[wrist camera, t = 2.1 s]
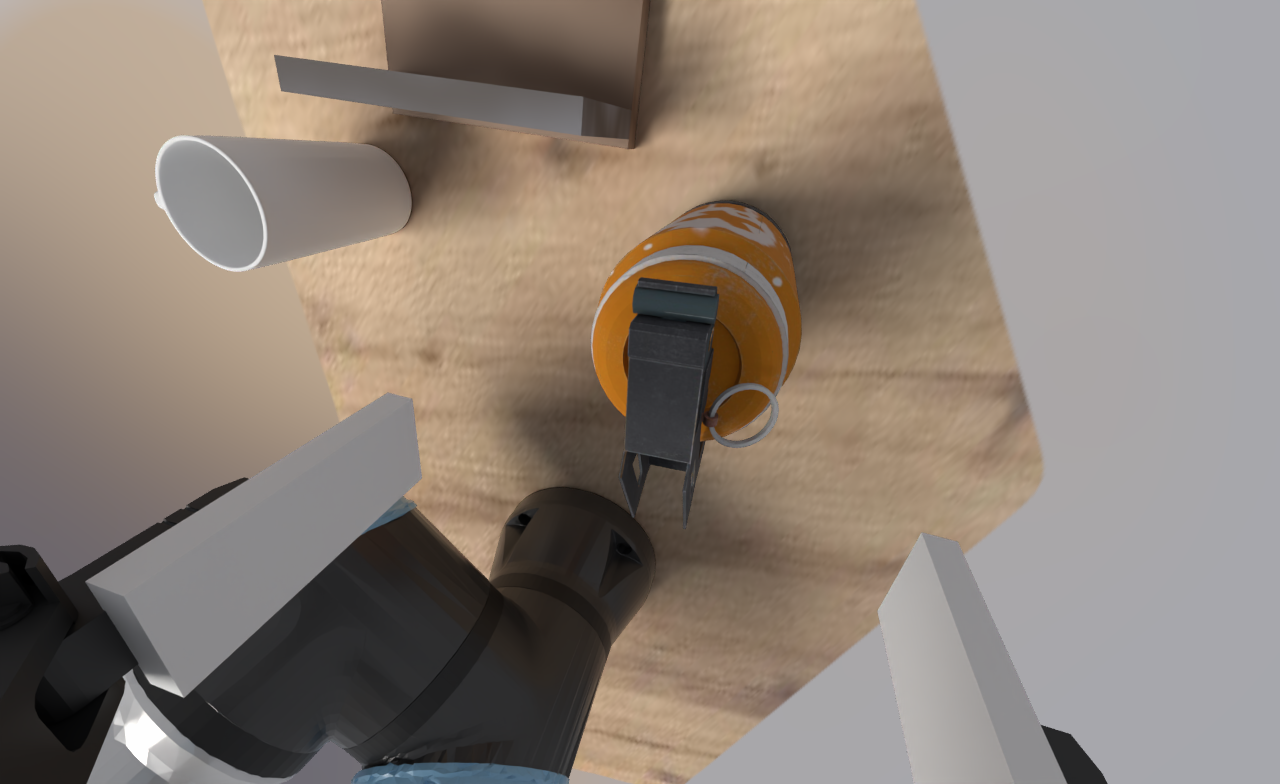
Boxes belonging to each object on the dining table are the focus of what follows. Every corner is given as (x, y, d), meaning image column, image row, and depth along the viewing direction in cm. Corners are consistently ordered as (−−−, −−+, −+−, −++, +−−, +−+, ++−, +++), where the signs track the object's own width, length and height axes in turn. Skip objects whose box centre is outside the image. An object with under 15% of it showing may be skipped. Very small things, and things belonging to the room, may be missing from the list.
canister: (806, 206, 29) (851, 289, 12) (772, 371, 34) (767, 599, 17) (662, 193, 31) (514, 248, 13) (650, 352, 36) (531, 541, 18)
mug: (406, 141, 33) (239, 137, 23) (424, 240, 36) (283, 277, 26) (288, 137, 35) (86, 131, 25) (314, 231, 38) (143, 261, 28)
